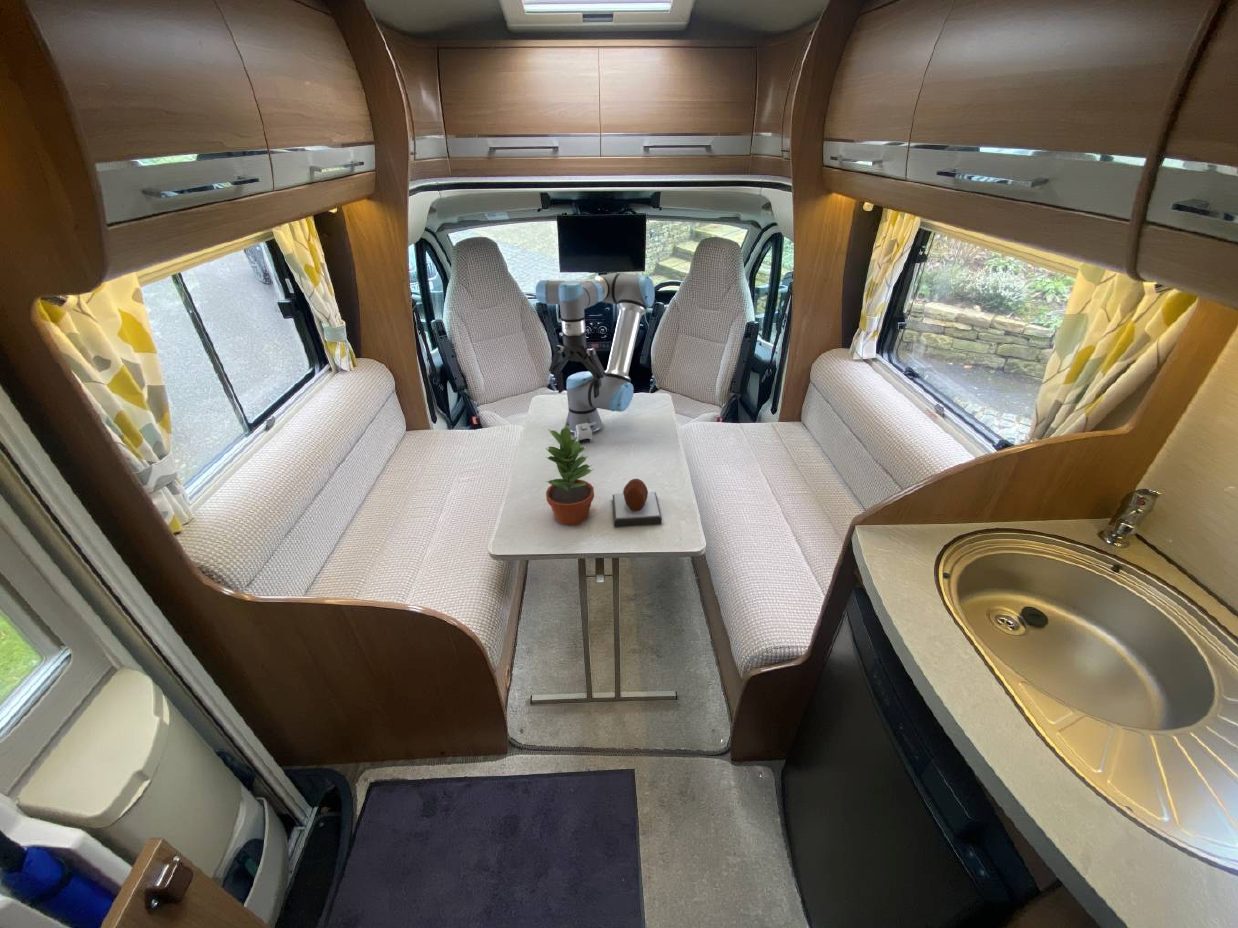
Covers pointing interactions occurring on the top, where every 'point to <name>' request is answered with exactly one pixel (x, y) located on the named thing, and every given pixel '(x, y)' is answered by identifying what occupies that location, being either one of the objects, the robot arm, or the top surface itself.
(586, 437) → the tape dispenser
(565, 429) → the potted plant
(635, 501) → the potato
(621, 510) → the scale
